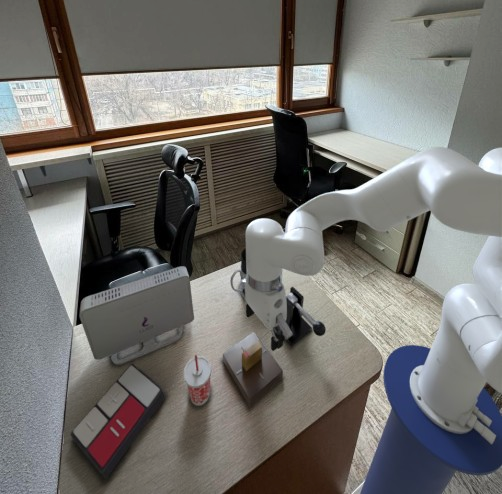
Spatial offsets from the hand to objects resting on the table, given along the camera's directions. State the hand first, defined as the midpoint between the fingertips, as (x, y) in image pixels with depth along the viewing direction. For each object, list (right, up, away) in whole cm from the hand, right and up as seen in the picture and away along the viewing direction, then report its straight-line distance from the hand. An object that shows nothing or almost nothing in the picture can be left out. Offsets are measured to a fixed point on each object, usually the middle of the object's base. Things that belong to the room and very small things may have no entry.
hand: (263, 329), depth 63 cm
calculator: (-32, -17, -4) cm, 36 cm away
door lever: (+11, -3, +9) cm, 15 cm away
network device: (-32, -10, +13) cm, 36 cm away
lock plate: (-3, -14, +5) cm, 15 cm away
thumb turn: (-3, -11, +4) cm, 12 cm away
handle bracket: (+8, -9, +16) cm, 20 cm away
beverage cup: (-15, -16, 0) cm, 22 cm away
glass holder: (-4, -5, +26) cm, 27 cm away
